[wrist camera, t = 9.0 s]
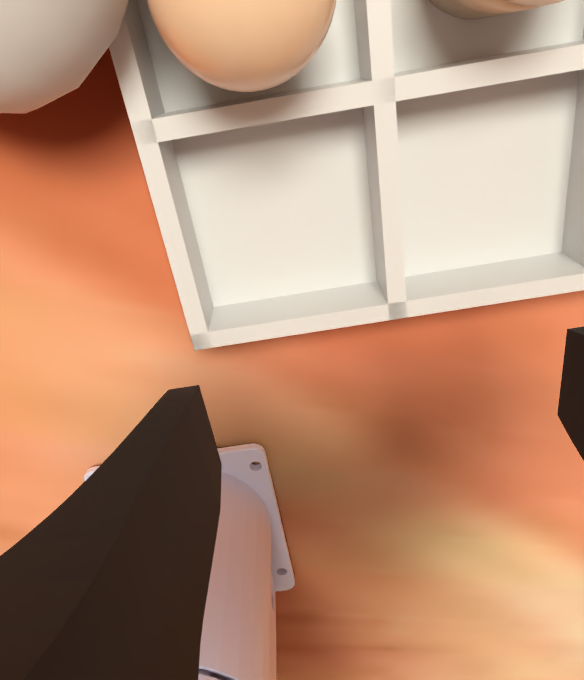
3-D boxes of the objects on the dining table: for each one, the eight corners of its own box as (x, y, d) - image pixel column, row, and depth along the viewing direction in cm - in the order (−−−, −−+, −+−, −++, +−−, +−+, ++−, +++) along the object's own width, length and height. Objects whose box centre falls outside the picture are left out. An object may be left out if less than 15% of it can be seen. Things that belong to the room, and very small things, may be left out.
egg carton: (752, 231, 19) (816, 254, 17) (202, 317, 20) (194, 350, 17) (909, -331, 12) (1049, -416, 10) (75, -166, 13) (35, -212, 11)
